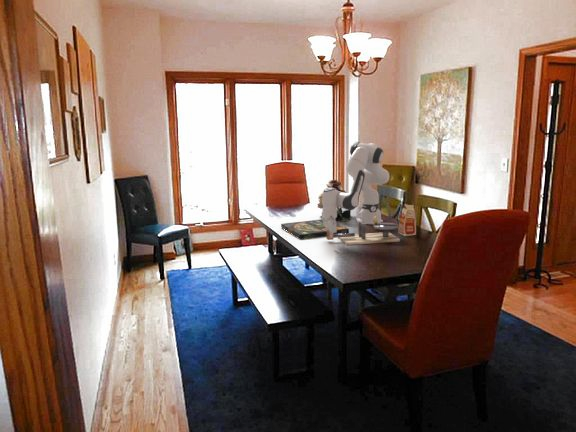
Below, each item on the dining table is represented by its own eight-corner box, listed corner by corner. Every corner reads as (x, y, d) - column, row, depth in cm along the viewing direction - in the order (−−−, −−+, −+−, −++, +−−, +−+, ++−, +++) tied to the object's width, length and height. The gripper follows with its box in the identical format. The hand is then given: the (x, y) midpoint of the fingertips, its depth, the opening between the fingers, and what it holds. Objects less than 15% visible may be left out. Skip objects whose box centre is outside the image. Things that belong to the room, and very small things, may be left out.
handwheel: (398, 224, 276) (398, 215, 275) (398, 230, 262) (398, 220, 261) (373, 224, 280) (374, 214, 279) (372, 229, 266) (372, 219, 264)
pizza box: (325, 223, 321) (325, 218, 321) (348, 234, 289) (348, 228, 289) (281, 228, 309) (281, 223, 309) (300, 240, 277) (300, 234, 277)
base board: (338, 237, 278) (337, 220, 276) (389, 234, 283) (389, 217, 281) (345, 244, 261) (345, 226, 259) (399, 241, 266) (400, 223, 263)
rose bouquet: (350, 214, 350) (350, 177, 344) (351, 222, 321) (351, 181, 315) (318, 214, 352) (317, 177, 346) (316, 222, 324) (316, 182, 318)
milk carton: (404, 236, 278) (405, 205, 274) (397, 232, 287) (398, 202, 283) (417, 234, 280) (418, 204, 276) (409, 231, 289) (410, 201, 285)
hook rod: (326, 238, 270) (326, 230, 269) (353, 236, 272) (353, 229, 271) (327, 239, 266) (327, 232, 265) (355, 238, 269) (355, 230, 268)
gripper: (339, 217, 256) (339, 240, 258) (330, 211, 275) (331, 232, 278) (328, 218, 255) (328, 241, 258) (321, 211, 275) (321, 233, 277)
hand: (329, 236), depth 268 cm, fingers open, 4 cm apart
